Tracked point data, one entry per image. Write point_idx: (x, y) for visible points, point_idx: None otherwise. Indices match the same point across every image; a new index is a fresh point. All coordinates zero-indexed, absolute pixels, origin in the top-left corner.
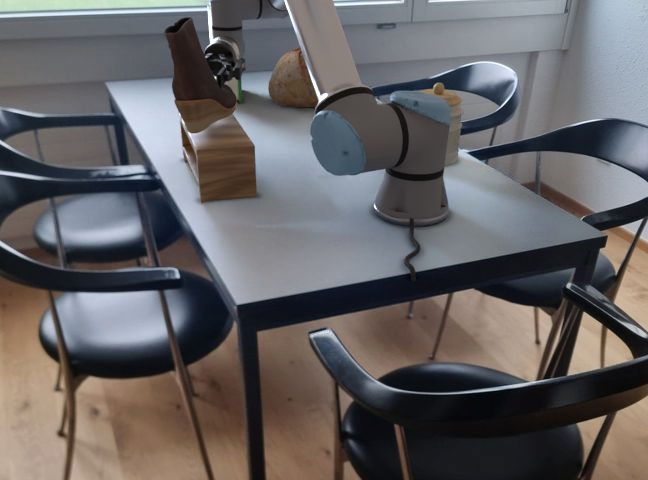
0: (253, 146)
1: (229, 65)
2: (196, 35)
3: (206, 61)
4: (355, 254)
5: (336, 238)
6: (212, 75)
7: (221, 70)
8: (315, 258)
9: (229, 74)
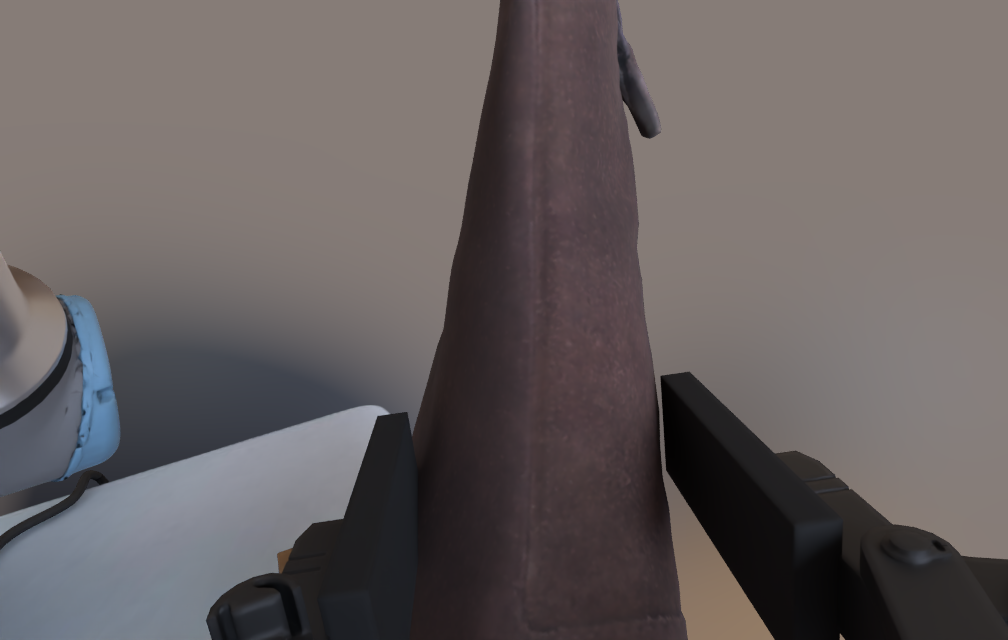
0: (283, 553)
1: (249, 591)
2: (489, 78)
3: (453, 274)
4: (152, 511)
5: (158, 549)
6: (436, 387)
7: (373, 496)
8: (239, 486)
9: (292, 561)
